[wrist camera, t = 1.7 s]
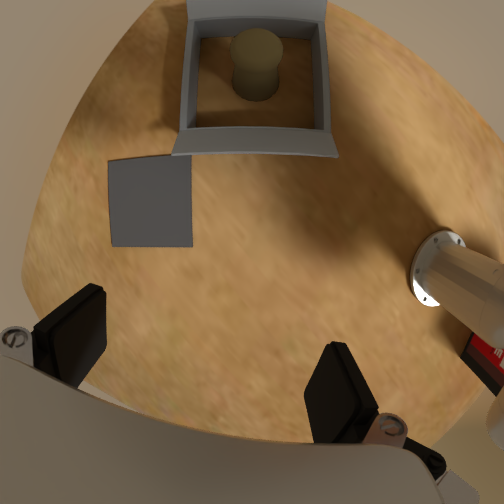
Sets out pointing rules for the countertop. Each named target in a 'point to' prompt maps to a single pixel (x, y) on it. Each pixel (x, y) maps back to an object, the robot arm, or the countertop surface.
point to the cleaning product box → (485, 362)
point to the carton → (283, 25)
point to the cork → (256, 63)
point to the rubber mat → (151, 202)
